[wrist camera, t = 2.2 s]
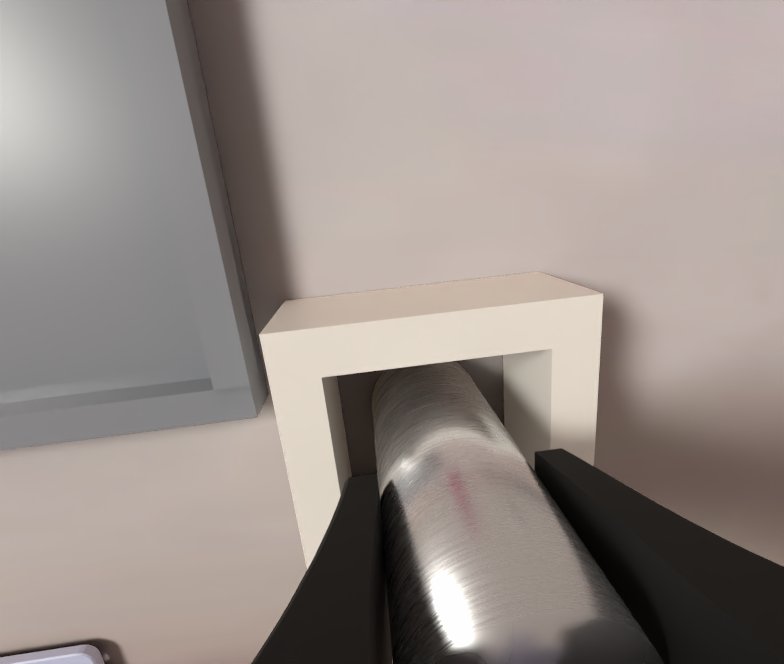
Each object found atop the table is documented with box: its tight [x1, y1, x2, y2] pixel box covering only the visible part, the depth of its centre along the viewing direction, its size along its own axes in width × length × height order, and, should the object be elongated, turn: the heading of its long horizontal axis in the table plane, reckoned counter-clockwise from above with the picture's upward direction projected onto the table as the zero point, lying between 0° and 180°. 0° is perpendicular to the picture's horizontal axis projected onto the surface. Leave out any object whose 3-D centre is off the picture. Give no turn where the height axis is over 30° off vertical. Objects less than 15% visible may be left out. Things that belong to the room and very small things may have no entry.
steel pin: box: [372, 361, 664, 664], centre depth 9 cm, size 4×4×9 cm
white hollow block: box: [259, 272, 603, 570], centre depth 12 cm, size 8×8×4 cm
